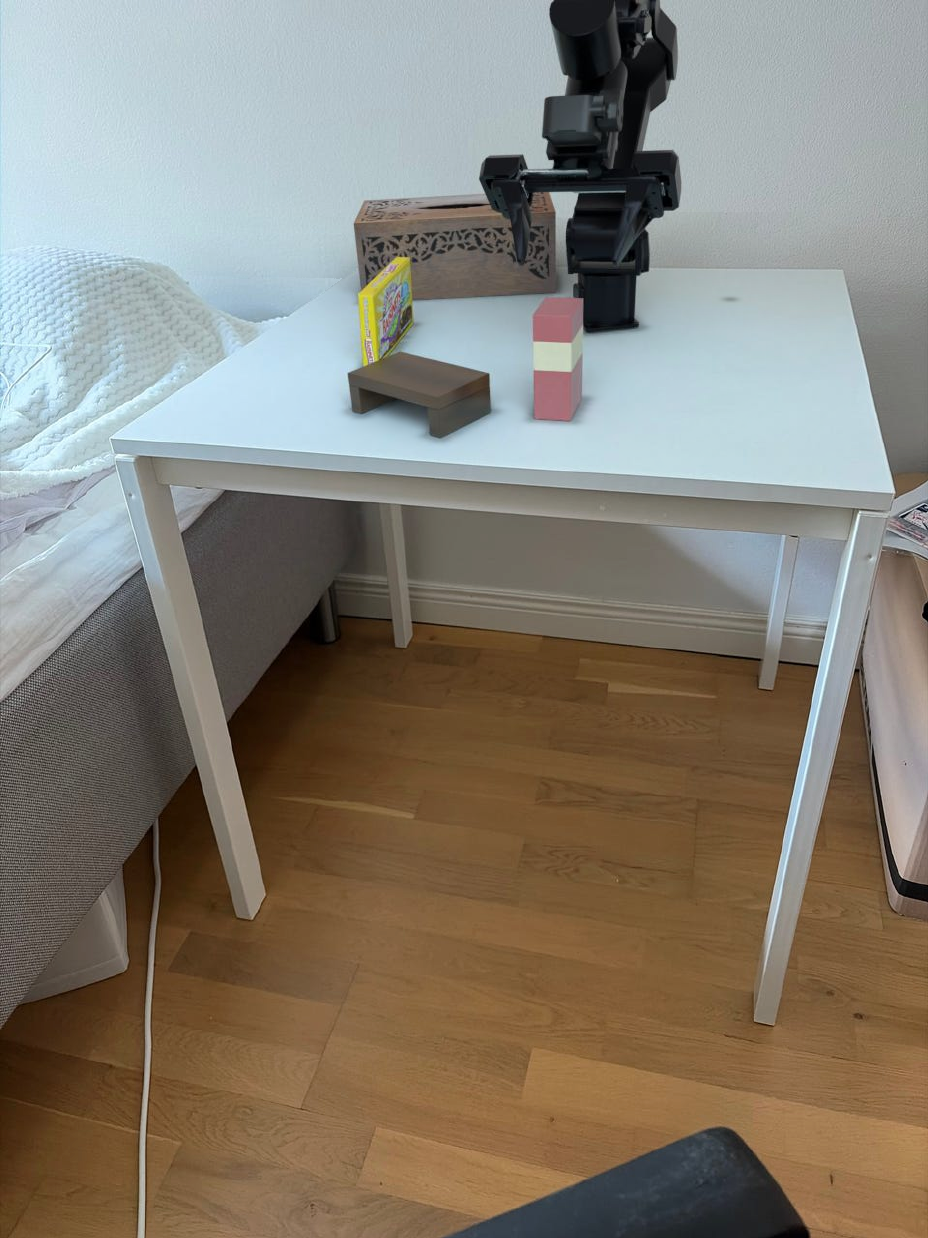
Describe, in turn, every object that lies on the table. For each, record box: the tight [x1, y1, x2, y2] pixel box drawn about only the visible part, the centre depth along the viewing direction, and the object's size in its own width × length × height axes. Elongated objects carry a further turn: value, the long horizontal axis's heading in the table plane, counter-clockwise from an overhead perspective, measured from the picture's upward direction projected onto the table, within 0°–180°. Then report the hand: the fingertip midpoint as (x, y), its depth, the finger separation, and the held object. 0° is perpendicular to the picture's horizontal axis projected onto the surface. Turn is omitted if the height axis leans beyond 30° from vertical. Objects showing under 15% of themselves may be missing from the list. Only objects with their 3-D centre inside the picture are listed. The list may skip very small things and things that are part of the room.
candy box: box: [357, 257, 414, 367], centre depth 110 cm, size 16×2×8 cm, turn 168°
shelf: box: [347, 351, 492, 439], centre depth 94 cm, size 8×12×4 cm, turn 49°
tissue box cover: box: [353, 192, 557, 301], centre depth 131 cm, size 26×14×10 cm, turn 89°
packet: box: [532, 296, 584, 422], centre depth 91 cm, size 6×4×10 cm, turn 163°
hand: (566, 263), depth 91 cm, fingers open, 9 cm apart
